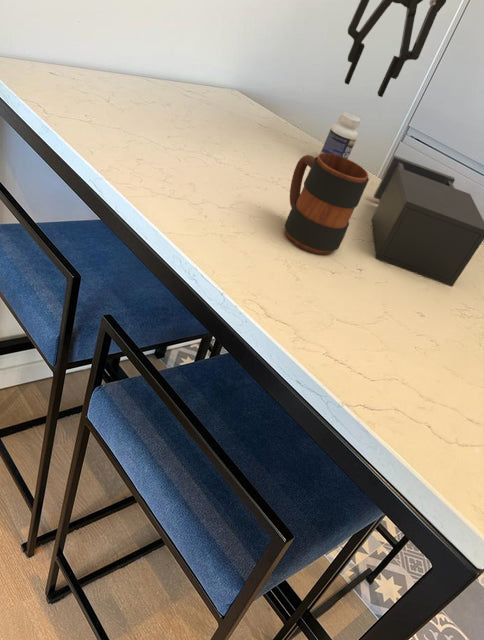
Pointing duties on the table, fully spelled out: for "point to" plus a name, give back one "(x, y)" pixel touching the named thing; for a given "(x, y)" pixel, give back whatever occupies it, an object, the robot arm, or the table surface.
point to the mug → (323, 201)
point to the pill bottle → (342, 136)
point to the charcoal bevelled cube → (426, 227)
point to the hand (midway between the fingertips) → (363, 88)
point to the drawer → (412, 168)
